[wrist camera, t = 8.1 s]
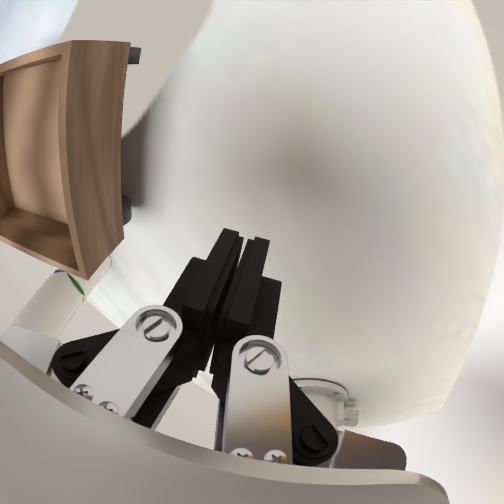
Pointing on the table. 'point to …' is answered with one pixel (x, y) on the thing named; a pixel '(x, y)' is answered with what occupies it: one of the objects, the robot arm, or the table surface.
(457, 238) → the table surface
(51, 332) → the tube
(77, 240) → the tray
